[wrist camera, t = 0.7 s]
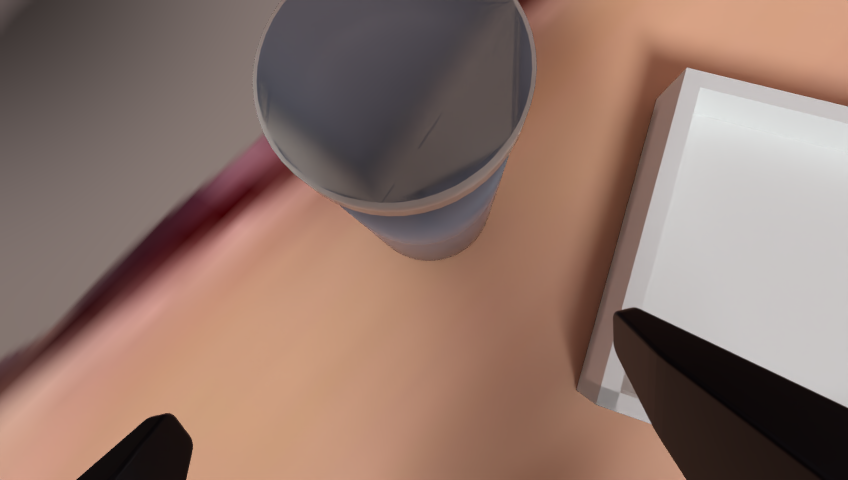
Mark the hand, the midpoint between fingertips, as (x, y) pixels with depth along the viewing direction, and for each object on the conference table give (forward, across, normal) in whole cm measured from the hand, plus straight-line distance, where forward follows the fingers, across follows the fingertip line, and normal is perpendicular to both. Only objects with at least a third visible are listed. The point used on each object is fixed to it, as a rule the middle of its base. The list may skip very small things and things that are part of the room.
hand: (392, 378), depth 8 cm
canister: (+15, -1, +3) cm, 15 cm away
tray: (+10, -16, +9) cm, 21 cm away
